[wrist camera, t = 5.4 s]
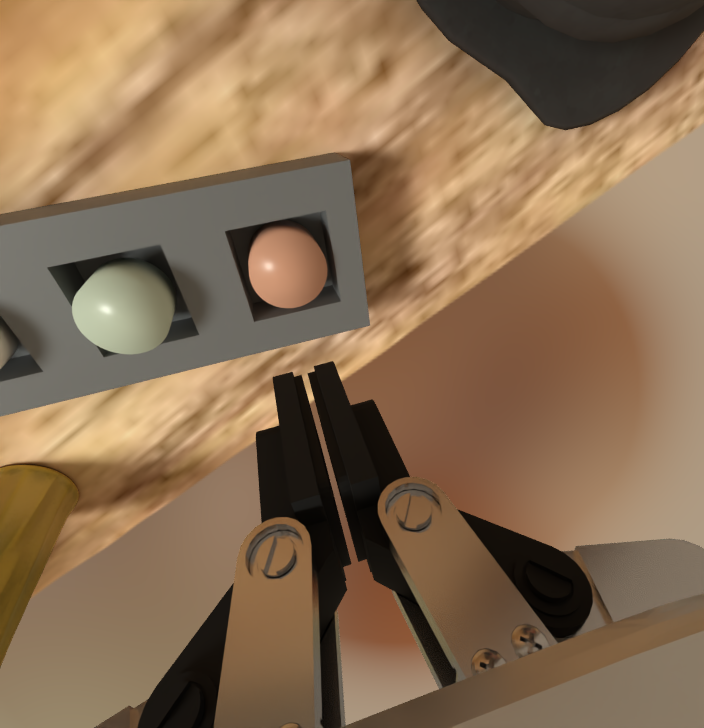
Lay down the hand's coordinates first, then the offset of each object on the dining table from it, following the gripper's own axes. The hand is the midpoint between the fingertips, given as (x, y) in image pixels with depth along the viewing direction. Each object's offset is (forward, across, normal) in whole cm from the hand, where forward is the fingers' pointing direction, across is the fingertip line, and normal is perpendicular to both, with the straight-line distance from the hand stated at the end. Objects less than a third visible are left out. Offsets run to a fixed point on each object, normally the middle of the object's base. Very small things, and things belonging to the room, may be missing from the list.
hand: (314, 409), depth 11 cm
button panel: (+15, +7, 0) cm, 17 cm away
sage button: (+13, +7, 0) cm, 15 cm away
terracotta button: (+13, -1, 0) cm, 14 cm away
